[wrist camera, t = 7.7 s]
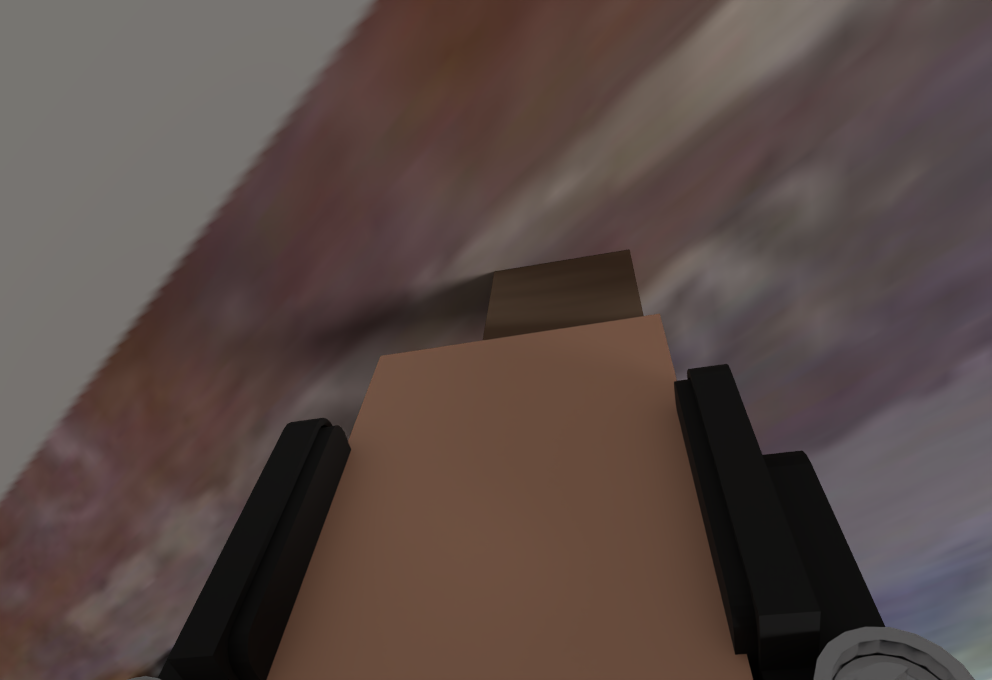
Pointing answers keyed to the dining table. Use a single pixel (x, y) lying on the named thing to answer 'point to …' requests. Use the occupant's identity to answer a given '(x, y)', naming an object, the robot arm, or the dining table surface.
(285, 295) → the dining table surface
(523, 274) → the domino
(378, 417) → the domino
